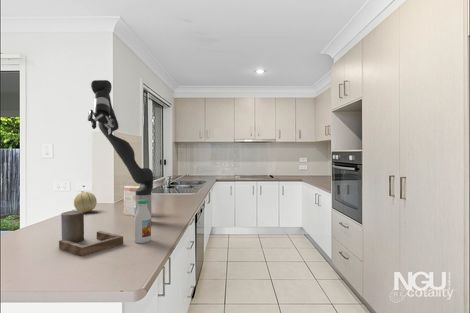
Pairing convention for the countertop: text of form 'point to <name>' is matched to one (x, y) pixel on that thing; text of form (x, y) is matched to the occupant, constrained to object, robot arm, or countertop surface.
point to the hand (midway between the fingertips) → (102, 131)
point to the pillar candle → (73, 226)
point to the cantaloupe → (85, 201)
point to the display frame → (107, 242)
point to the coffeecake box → (130, 200)
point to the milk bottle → (142, 223)
